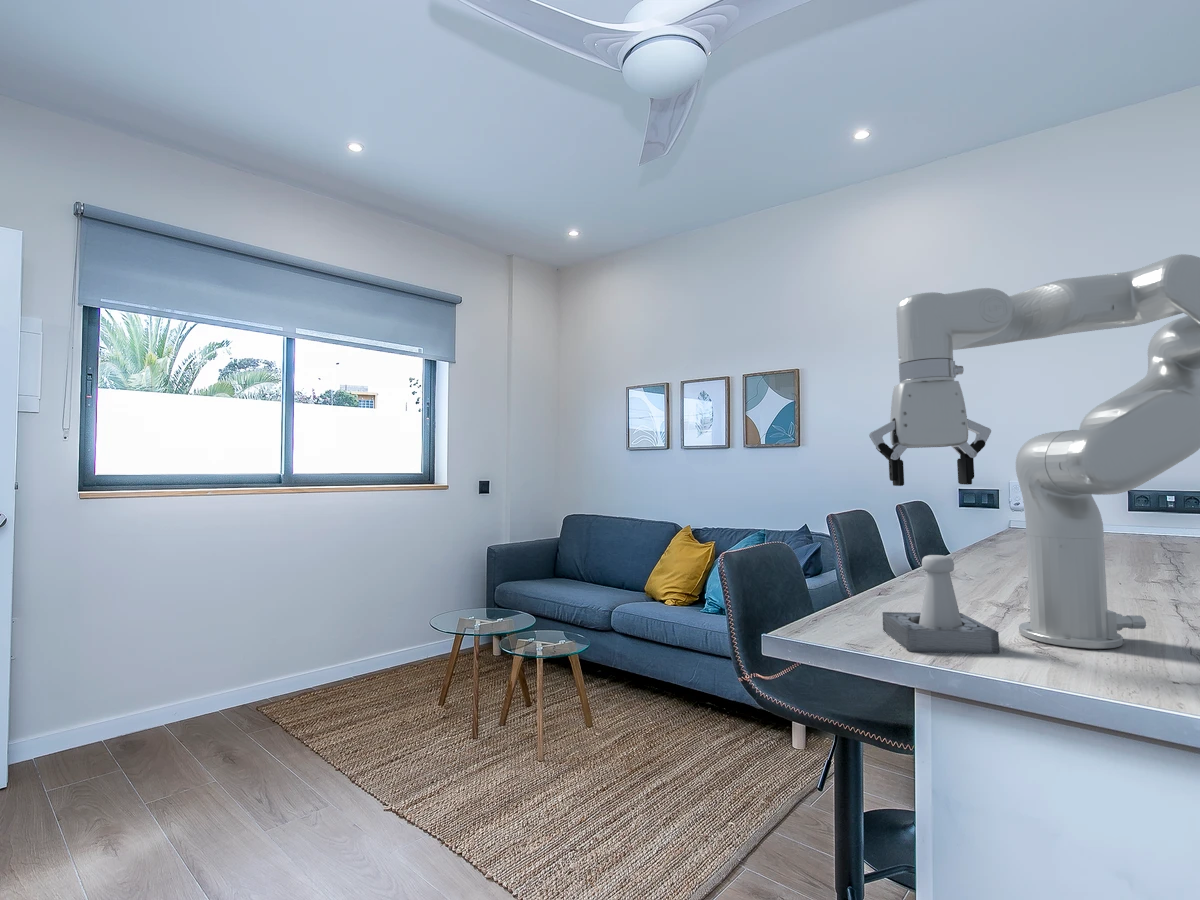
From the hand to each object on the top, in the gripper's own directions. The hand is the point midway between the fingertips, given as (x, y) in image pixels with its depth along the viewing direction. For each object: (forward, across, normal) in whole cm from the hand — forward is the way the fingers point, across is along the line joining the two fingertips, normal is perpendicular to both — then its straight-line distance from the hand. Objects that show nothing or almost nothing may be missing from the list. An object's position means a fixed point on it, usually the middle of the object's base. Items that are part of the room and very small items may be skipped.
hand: (931, 484), depth 94 cm
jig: (+24, 0, 0) cm, 24 cm away
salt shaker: (+24, 0, 0) cm, 24 cm away
